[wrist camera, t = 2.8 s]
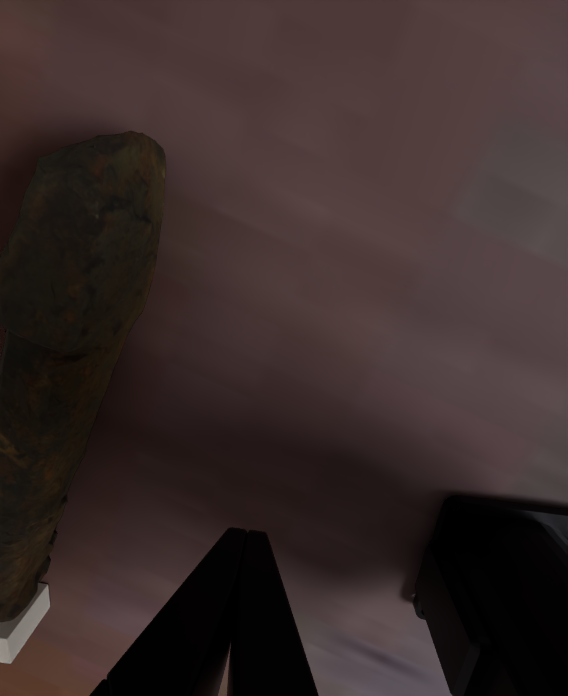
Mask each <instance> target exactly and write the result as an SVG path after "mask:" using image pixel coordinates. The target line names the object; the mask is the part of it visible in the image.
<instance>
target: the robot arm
mask: <svg viewBox="0 0 568 696" xmlns="http://www.w3.org/2000/svg"><path fill="white" fill-rule="evenodd" d="M457 507H460V508H459V509H457V510H454V509H455V508H457ZM415 589H416V594H415V597H414V601H413V606H414V609H415V612H416V614H417V616H418V617H419V618H420V619H424V620H426V622H427V625H428V628H429V631H430V634H431V637H432V640H433V643H434V646H435V649H436V652H437V655H438V658H439V661H440V664H441V667H442V669H443V672H444V675H445V678H446V681H447V684H448V687H449V690H450V693H451V694H452V696H568V510H565V509H558V508H550V507H543V506H535V505H527V504H520V503H512V502H504V501H497V500H489V499H481V498H474V497H466V496H458V495H455V496H450V497H448V498H447V499H445V500H444V502H443V504H442V508H441V511H440V514H439V518H438V521H437V524H436V528H435V531H434V534H433V538H432V540H431V541H430V542H429V543H428V545H427V548H426V551H425V554H424V558H423V561H422V564H421V568H420V571H419V574H418V578H417V581H416V585H415ZM230 644H231V648H230ZM229 650H230V658H229V670H228V685H227V696H319V695H318V692H317V689H316V686H315V683H314V680H313V676H312V673H311V670H310V667H309V664H308V661H307V658H306V654H305V651H304V648H303V645H302V642H301V639H300V636H299V632H298V629H297V626H296V623H295V620H294V617H293V614H292V611H291V607H290V604H289V601H288V598H287V595H286V592H285V589H284V585H283V582H282V579H281V576H280V573H279V570H278V567H277V563H276V560H275V557H274V554H273V551H272V548H271V545H270V541H269V538H268V535H267V534H266V533H265V532H262V531H255V530H249V531H248V533H247V531H246V530H245V529H240V528H233V527H230V528H228V529H227V530H226V531H225V533H224V534H223V535H222V536H221V538H220V539H219V540H218V541H217V542H216V544H215V545H214V546H213V547H212V548H211V550H210V551H209V552H208V553H207V554H206V556H205V557H204V558H203V559H202V560H201V562H200V563H199V564H198V565H197V567H196V568H195V569H194V570H193V571H192V573H191V574H190V575H189V576H188V577H187V579H186V580H185V581H184V582H183V583H182V585H181V586H180V587H179V588H178V589H177V591H176V592H175V593H174V594H173V596H172V597H171V598H170V599H169V600H168V602H167V603H166V604H165V605H164V606H163V608H162V609H161V610H160V611H159V612H158V614H157V615H156V616H155V617H154V618H153V620H152V621H151V622H150V623H149V624H148V626H147V627H146V628H145V629H144V631H143V632H142V633H141V634H140V635H139V637H138V638H137V639H136V640H135V641H134V643H133V644H132V645H131V646H130V647H129V649H128V650H127V651H126V652H125V653H124V655H123V656H122V657H121V658H120V660H119V661H118V662H117V663H116V664H115V666H114V667H113V668H112V669H111V670H110V672H109V673H108V674H107V680H106V679H103V680H102V681H101V682H100V683H99V685H98V686H97V687H96V688H95V689H94V691H93V692H92V693H91V694H90V695H89V696H218V693H219V689H220V685H221V682H222V678H223V674H224V670H225V667H226V662H227V658H228V654H229Z"/></svg>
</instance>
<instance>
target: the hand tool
mask: <svg viewBox="0 0 568 696" xmlns="http://www.w3.org/2000/svg"><path fill="white" fill-rule="evenodd" d="M165 172H166V160H165V154H164V150H163V148H162V147H161V146H160V145H159V144H158V143H157V142H156V141H155V140H153V139H151V138H150V137H148V136H147V135H145V134H143V133H137V132H134V131H128V132H126V133H123V134H115V135H98V136H97V137H95V138H93V139H92V140H88V141H84V142H81V143H77V144H74V145H70V146H67V147H63V148H62V149H60V150H58V151H56V152H55V153H53V154H50V155H47V156H43V157H40V158H38V161H37V166H36V171H35V173H34V175H33V178H32V180H31V182H30V184H29V186H28V189H27V191H26V193H25V195H24V197H23V204H22V206H21V209H20V212H19V217H18V220H17V222H16V225H15V227H14V229H13V231H12V233H11V236H10V238H9V240H8V242H7V244H6V246H5V248H4V250H3V252H2V254H1V256H0V324H1V325H2V326H3V327H5V328H6V330H5V332H6V337H5V342H4V346H3V350H2V355H1V359H0V622H7V621H11V620H14V619H15V618H16V617H17V616H18V615H19V614H20V613H21V612H22V611H23V610H24V609H25V608H26V607H27V606H28V605H29V603H30V602H31V600H32V599H33V597H34V596H35V594H36V593H37V590H38V583H39V582H40V580H41V579H42V578H43V576H44V575H45V574H46V573H47V571H48V568H49V565H50V561H51V559H50V557H49V554H50V552H51V551H52V548H53V543H54V541H55V539H56V536H57V534H58V533H57V532H56V531H55V527H56V524H57V523H58V522H59V520H60V518H61V516H62V514H63V511H64V507H65V504H66V502H67V491H68V489H69V487H70V484H71V481H72V479H73V476H74V474H75V472H76V470H77V468H78V466H79V464H80V462H81V460H82V458H83V457H84V454H85V452H86V444H87V441H88V438H89V435H90V432H91V429H92V426H93V424H94V421H95V418H96V415H97V413H98V410H99V407H100V405H101V402H102V399H103V397H104V394H105V392H106V390H107V387H108V384H109V381H110V378H111V375H112V371H113V369H114V367H115V365H116V362H117V360H118V358H119V355H120V352H121V349H122V347H123V344H124V341H125V339H126V337H127V335H128V333H129V331H130V329H131V327H132V326H133V324H134V322H135V321H136V319H137V317H138V316H139V315H140V314H141V313H142V311H143V309H144V306H145V303H146V300H147V296H148V293H149V290H150V286H151V282H152V277H153V273H154V269H155V264H156V257H157V250H158V243H159V236H160V229H161V222H162V213H163V204H164V181H165Z"/></svg>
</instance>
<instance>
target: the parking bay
mask: <svg viewBox="0 0 568 696" xmlns="http://www.w3.org/2000/svg"><path fill="white" fill-rule="evenodd" d="M49 608H50V599H49V589H48V584H42V583H38V590H37V593H36V594H35V596H34V597H33V599H32V600H31V602H30V603H29V605H28V606H27V607H26V608H25V609H24V610H23V611H22V612H21V613H20V614H19V615H18V616H17V617H16V618H15V619H14V620H11V621H7V622H0V662H1V663H8V664H11V663H12V661H13V660H14V658H15V657H16V656H17V654H18V653H19V651H20V650H21V648H22V647H23V645H24V644H25V643H26V641H27V640H28V638H29V637H30V635H31V634H32V632H33V631H34V630H35V628H36V627H37V625H38V624H39V622H40V621H41V619H42V618H43V617H44V615H45V614H46V612H47V611H48V609H49Z"/></svg>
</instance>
